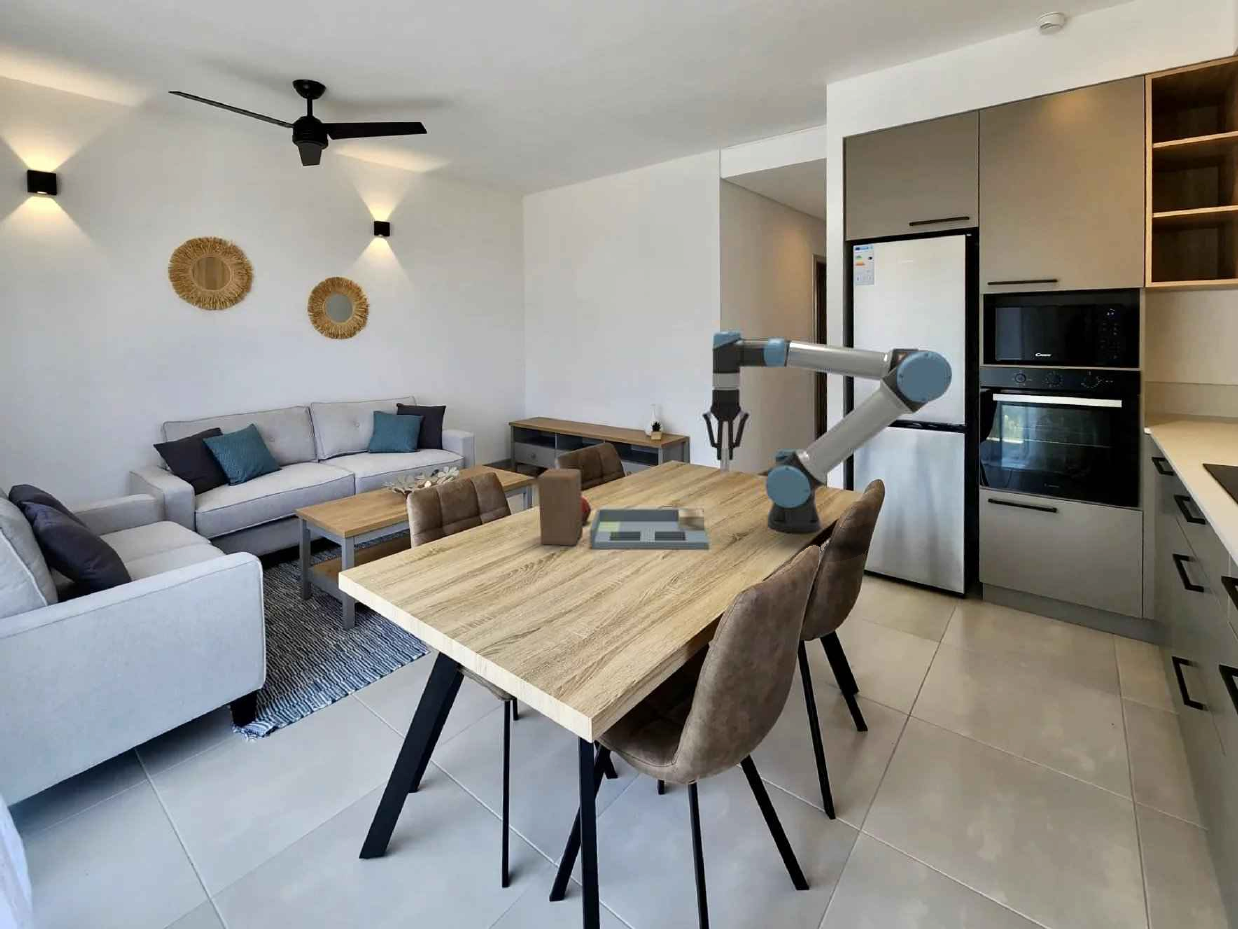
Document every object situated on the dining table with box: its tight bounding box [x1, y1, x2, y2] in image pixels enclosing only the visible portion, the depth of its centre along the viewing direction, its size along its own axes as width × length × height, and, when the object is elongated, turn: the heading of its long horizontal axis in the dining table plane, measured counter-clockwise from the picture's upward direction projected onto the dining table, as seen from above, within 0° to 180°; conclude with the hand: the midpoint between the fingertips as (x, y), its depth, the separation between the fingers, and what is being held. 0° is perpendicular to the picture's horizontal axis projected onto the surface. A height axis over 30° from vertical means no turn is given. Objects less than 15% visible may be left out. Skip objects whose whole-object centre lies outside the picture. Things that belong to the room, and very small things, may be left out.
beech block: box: [678, 510, 705, 530], centre depth 175 cm, size 7×7×4 cm
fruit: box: [581, 496, 592, 524], centre depth 187 cm, size 9×10×10 cm
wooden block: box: [537, 468, 584, 546], centre depth 170 cm, size 10×10×20 cm
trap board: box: [589, 508, 710, 550], centre depth 173 cm, size 32×20×6 cm, turn 86°
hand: (724, 471), depth 172 cm, fingers closed
